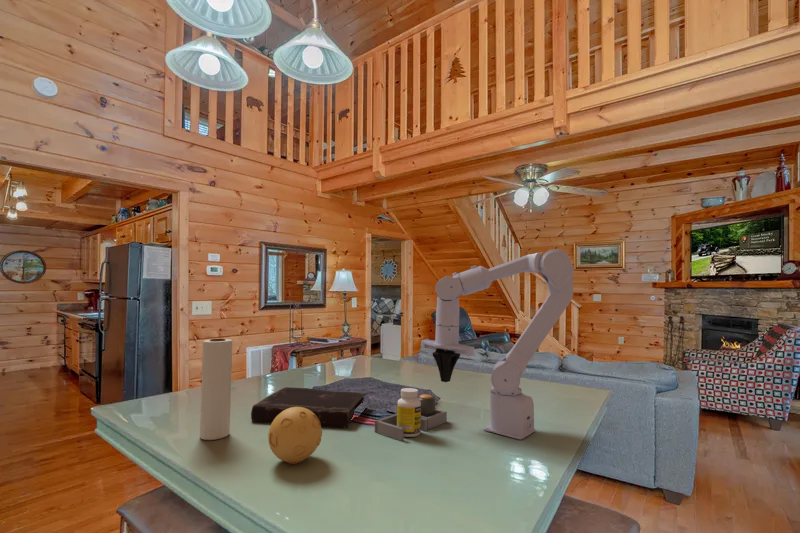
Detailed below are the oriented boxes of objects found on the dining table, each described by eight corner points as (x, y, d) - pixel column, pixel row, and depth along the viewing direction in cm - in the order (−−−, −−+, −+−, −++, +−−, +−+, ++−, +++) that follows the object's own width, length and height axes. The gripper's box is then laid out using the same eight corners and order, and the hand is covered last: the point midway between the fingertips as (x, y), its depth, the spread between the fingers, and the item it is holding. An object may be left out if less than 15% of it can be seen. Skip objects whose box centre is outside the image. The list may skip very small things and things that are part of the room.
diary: (347, 432, 94) (347, 411, 94) (250, 425, 98) (250, 405, 98) (368, 408, 112) (368, 390, 112) (286, 403, 117) (286, 386, 117)
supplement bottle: (417, 438, 87) (418, 393, 88) (393, 436, 89) (394, 391, 90) (422, 431, 93) (423, 388, 93) (400, 428, 94) (400, 386, 95)
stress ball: (274, 458, 79) (247, 439, 72) (302, 413, 85) (279, 391, 78) (311, 478, 74) (286, 459, 68) (338, 429, 80) (318, 406, 73)
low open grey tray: (446, 421, 99) (446, 395, 99) (401, 440, 86) (401, 410, 87) (395, 408, 110) (395, 384, 111) (348, 423, 98) (348, 396, 98)
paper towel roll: (223, 440, 86) (226, 341, 87) (194, 441, 86) (198, 341, 87) (235, 429, 93) (237, 337, 95) (208, 429, 93) (211, 337, 94)
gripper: (414, 323, 100) (412, 378, 99) (463, 329, 90) (461, 389, 90) (431, 322, 105) (429, 374, 105) (479, 327, 96) (477, 384, 95)
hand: (445, 381), depth 98 cm, fingers closed
